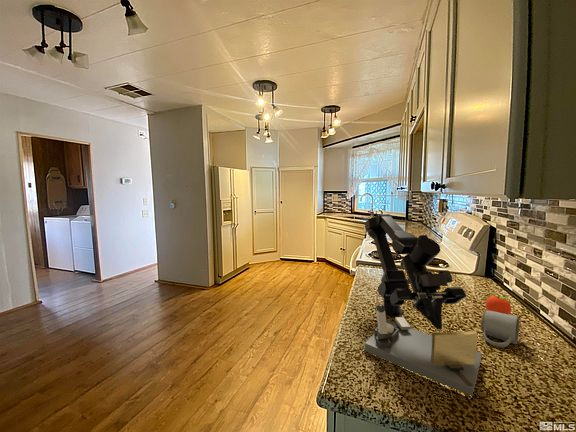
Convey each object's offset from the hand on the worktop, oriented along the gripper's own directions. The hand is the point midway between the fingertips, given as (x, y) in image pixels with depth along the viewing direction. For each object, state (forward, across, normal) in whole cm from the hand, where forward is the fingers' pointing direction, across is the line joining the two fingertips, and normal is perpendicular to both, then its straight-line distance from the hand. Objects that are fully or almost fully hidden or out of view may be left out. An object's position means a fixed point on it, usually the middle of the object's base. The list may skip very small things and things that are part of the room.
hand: (439, 329), depth 63 cm
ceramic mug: (0, +24, +12) cm, 27 cm away
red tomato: (-9, +36, +22) cm, 43 cm away
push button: (-2, -10, +10) cm, 14 cm away
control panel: (+5, -3, +8) cm, 10 cm away
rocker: (-5, -4, +12) cm, 13 cm away
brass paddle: (+8, 0, +1) cm, 8 cm away
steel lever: (0, -13, +6) cm, 14 cm away
